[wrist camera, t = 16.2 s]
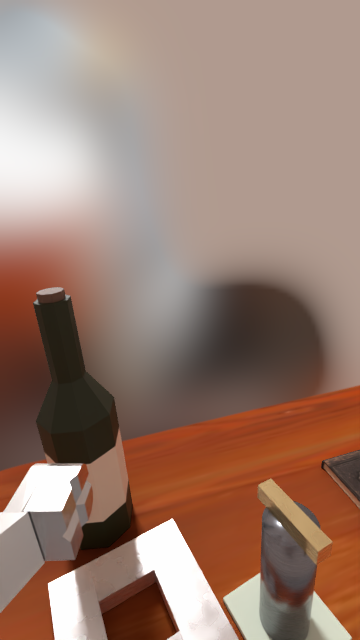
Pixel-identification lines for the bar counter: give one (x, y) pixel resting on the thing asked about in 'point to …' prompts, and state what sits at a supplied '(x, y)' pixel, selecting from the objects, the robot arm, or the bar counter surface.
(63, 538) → the robot arm
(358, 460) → the hardcover book
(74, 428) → the wine bottle
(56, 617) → the plate
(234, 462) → the bar counter surface
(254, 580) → the coaster
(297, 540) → the t key
